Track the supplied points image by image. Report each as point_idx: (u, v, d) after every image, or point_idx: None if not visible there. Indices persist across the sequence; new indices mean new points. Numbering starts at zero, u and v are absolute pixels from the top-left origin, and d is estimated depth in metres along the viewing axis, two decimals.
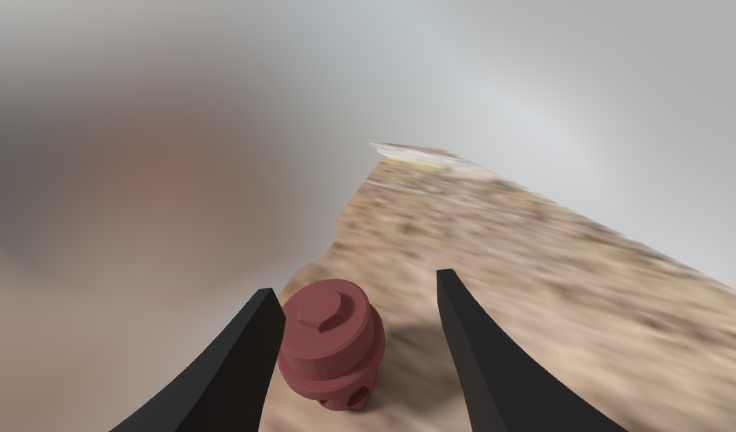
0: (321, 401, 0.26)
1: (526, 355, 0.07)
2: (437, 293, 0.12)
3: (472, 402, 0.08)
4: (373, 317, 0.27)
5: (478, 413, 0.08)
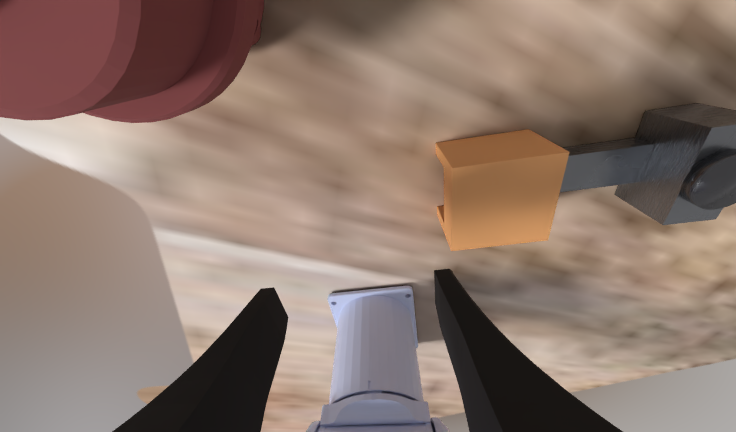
0: None
1: (522, 355, 0.07)
2: (435, 293, 0.12)
3: (469, 402, 0.08)
4: None
5: (475, 413, 0.08)
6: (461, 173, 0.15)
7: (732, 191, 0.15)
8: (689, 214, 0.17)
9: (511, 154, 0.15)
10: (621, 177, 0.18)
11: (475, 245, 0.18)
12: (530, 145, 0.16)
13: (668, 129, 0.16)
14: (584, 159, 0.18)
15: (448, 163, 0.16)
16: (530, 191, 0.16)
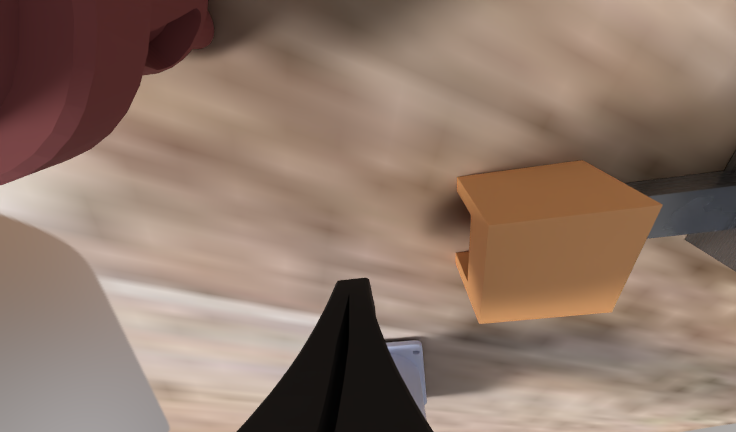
0: None
1: (391, 365, 0.07)
2: None
3: None
4: None
5: None
6: (501, 232, 0.10)
7: None
8: None
9: (572, 204, 0.11)
10: (705, 224, 0.14)
11: (512, 317, 0.13)
12: (595, 188, 0.11)
13: None
14: (659, 201, 0.13)
15: (481, 215, 0.11)
16: (597, 254, 0.11)
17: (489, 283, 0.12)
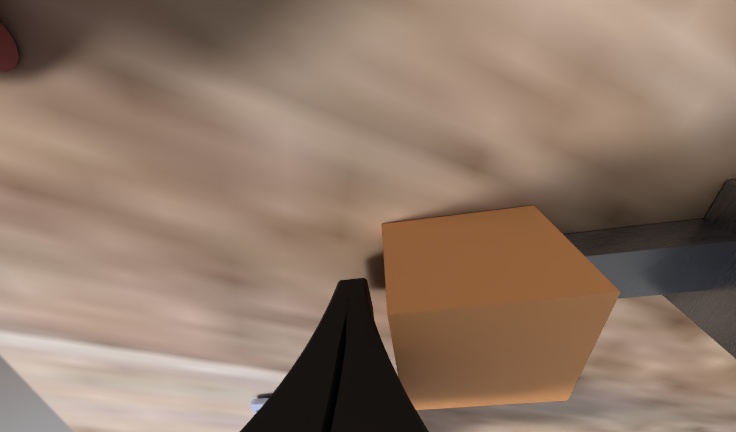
0: None
1: (388, 366, 0.07)
2: None
3: None
4: None
5: None
6: (406, 321, 0.08)
7: None
8: None
9: (503, 282, 0.08)
10: (680, 284, 0.11)
11: (444, 405, 0.10)
12: (539, 256, 0.09)
13: None
14: (622, 259, 0.10)
15: (386, 292, 0.08)
16: (539, 345, 0.08)
17: (405, 372, 0.09)
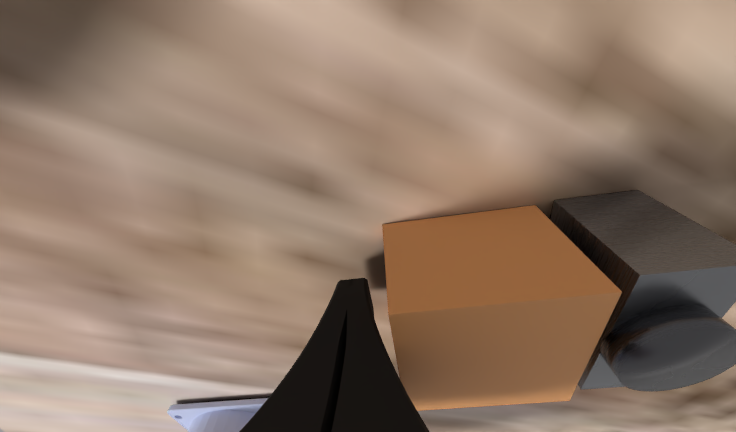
0: None
1: (388, 366, 0.07)
2: None
3: None
4: None
5: None
6: (407, 321, 0.08)
7: (685, 373, 0.08)
8: None
9: (504, 282, 0.08)
10: None
11: (445, 406, 0.10)
12: (540, 256, 0.08)
13: (582, 244, 0.09)
14: None
15: (387, 292, 0.08)
16: (541, 345, 0.08)
17: (407, 373, 0.09)
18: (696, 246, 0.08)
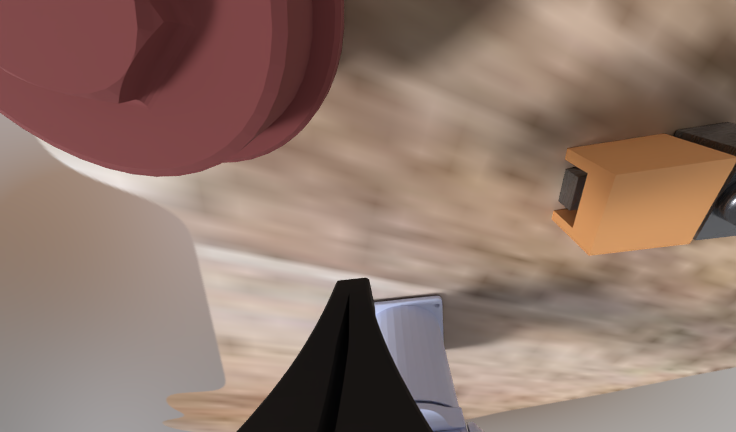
0: None
1: (391, 365, 0.07)
2: None
3: None
4: None
5: None
6: (623, 179, 0.15)
7: None
8: (721, 230, 0.17)
9: (671, 160, 0.15)
10: None
11: (615, 249, 0.18)
12: (684, 150, 0.16)
13: None
14: None
15: (604, 169, 0.16)
16: (687, 196, 0.16)
17: (605, 220, 0.17)
18: None
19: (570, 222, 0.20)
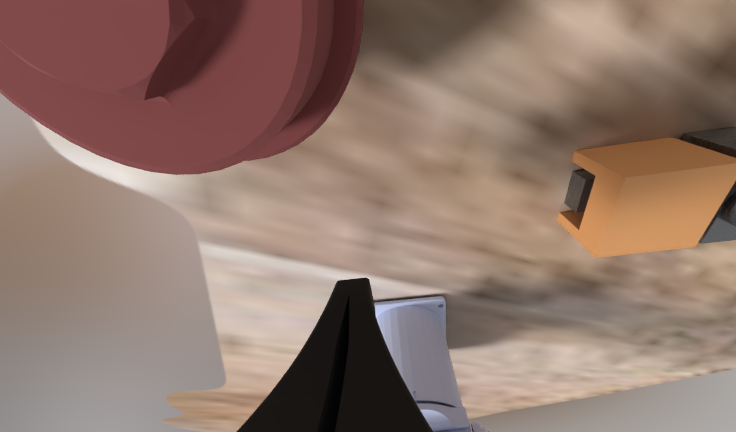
0: None
1: (391, 365, 0.07)
2: None
3: None
4: None
5: None
6: (632, 182, 0.15)
7: None
8: (727, 233, 0.17)
9: (680, 163, 0.15)
10: None
11: (621, 252, 0.18)
12: (692, 154, 0.16)
13: None
14: None
15: (613, 172, 0.16)
16: (694, 200, 0.16)
17: (612, 223, 0.17)
18: None
19: (576, 224, 0.20)
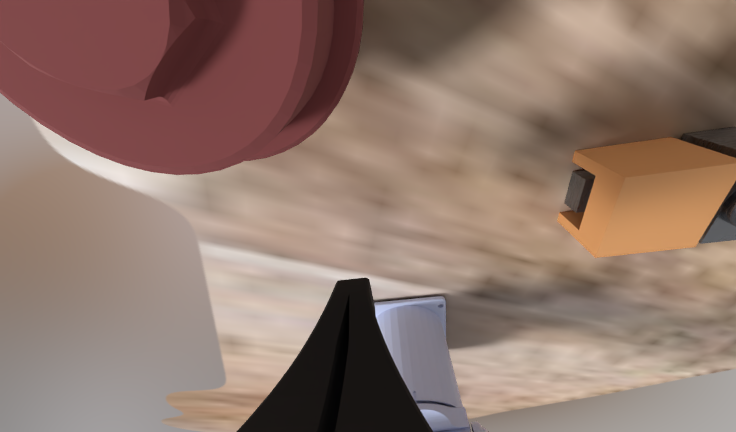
0: None
1: (391, 365, 0.07)
2: None
3: None
4: None
5: None
6: (632, 182, 0.15)
7: None
8: (727, 233, 0.17)
9: (680, 163, 0.15)
10: None
11: (621, 252, 0.18)
12: (692, 154, 0.16)
13: None
14: None
15: (613, 172, 0.16)
16: (694, 200, 0.16)
17: (612, 223, 0.17)
18: None
19: (576, 224, 0.20)
